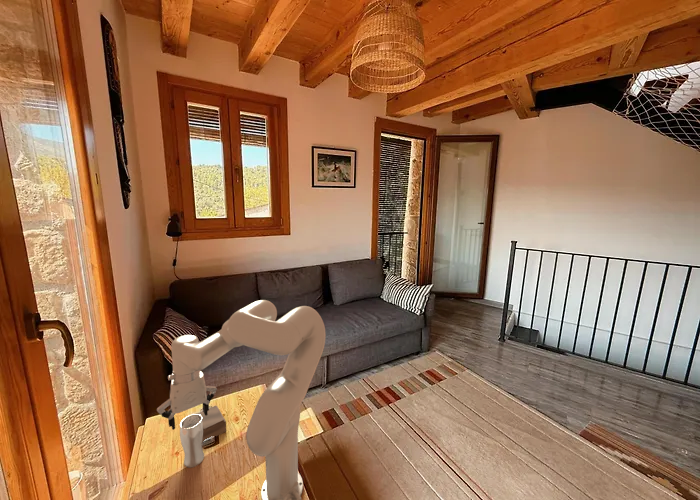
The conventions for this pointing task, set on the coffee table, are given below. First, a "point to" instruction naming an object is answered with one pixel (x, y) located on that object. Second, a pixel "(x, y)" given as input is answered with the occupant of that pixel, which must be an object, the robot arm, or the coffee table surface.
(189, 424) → the beer glass
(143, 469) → the coffee table surface
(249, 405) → the coffee table surface
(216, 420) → the plinth
